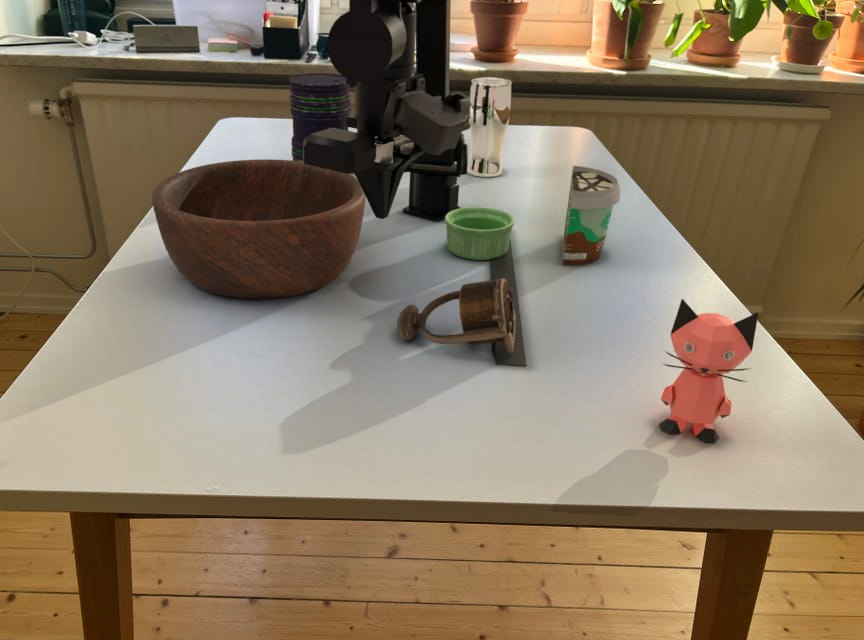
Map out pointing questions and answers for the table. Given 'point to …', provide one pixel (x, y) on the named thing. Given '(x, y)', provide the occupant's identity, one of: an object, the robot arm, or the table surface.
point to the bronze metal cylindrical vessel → (469, 315)
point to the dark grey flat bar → (505, 269)
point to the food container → (588, 214)
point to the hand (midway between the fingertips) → (381, 217)
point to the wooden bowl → (259, 226)
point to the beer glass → (488, 124)
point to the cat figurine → (704, 368)
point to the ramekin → (478, 232)
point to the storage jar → (317, 106)
